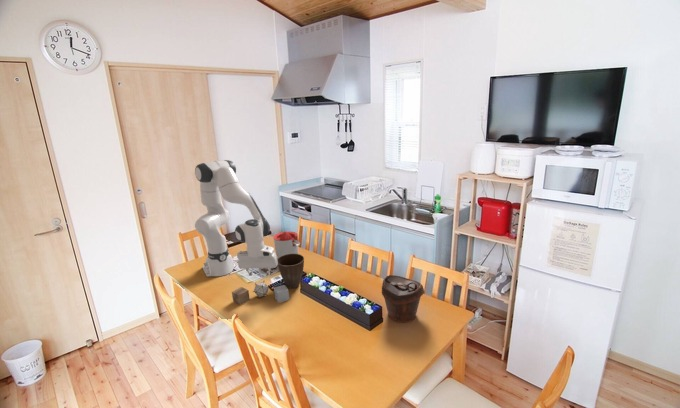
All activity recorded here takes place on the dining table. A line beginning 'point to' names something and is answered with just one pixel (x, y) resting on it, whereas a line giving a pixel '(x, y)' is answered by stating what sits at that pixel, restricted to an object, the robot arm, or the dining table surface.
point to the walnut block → (240, 296)
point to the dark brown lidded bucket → (401, 297)
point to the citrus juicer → (286, 243)
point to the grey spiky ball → (261, 289)
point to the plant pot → (291, 269)
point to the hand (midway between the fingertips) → (259, 274)
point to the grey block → (281, 293)
